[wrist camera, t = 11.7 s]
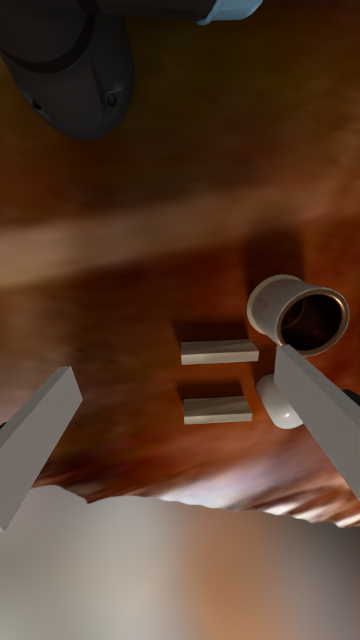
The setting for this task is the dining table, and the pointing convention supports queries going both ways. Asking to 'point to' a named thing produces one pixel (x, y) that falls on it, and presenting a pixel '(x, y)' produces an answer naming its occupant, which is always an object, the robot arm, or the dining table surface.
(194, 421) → the cradle
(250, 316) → the mat
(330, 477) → the dining table surface
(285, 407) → the white cylinder
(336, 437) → the robot arm
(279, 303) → the planter
